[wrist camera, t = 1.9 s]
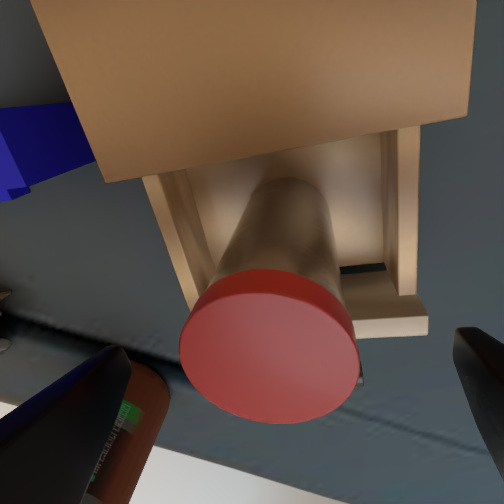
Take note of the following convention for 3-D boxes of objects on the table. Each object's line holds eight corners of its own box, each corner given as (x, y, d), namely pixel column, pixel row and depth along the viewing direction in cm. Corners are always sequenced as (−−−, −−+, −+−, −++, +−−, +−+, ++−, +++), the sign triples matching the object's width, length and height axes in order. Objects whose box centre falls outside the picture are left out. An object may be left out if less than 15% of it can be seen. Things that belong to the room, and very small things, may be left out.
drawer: (404, 346, 21) (425, 403, 17) (229, 354, 24) (214, 404, 20) (405, 41, 13) (442, 27, 10) (149, 104, 16) (102, 111, 12)
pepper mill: (327, 167, 15) (354, 282, 7) (336, 251, 17) (365, 425, 9) (235, 182, 16) (153, 299, 8) (253, 260, 18) (205, 423, 10)
